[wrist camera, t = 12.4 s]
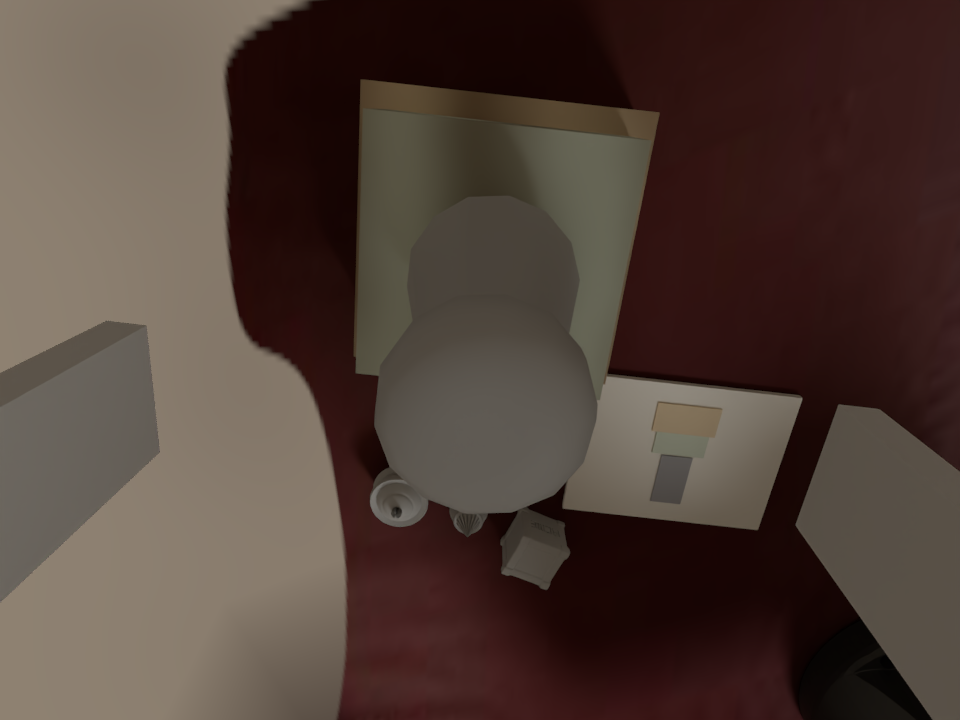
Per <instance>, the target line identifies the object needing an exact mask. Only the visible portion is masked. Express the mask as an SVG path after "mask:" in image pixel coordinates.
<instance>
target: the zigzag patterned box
mask: <svg viewBox="0 0 960 720" xmlns="http://www.w3.org/2000/svg"><path fill="white" fill-rule="evenodd" d="M658 118H659V112H650V111H641V110H632V109H623V108H614V107H605V106H596V105H587V104H578V103H569V102H560V101H551V100H542V99H533V98H525V97H516V96H507V95H498V94H489V93H480V92H471V91H462V90H453V89H444V88H435V87H426V86H417V85H408V84H399V83H390V82H381V81H373V80H364V79H361V86H360V125H359V164H358V204H357V243H356V282H355V321H354V357H356V373H359V374H368V375H377V376H379V371H380V365H381V364H382V362H383V361H384V359H385V358H386V357H387V355H388V354H389V352H390V351H391V350H392V348H393V347H394V346H395V344H396V343H397V342H398V340H399V339H400V337H401V336H402V335H403V333H404V332H405V331H406V329H407V328H408V327H409V325H410V324H411V322H412V321H413V319H412V314H411V308H410V302H409V296H408V290H407V281H408V272H409V263H410V254H411V248H412V247H413V245H414V244H415V243H416V241H417V240H418V238H419V237H420V236H421V234H422V233H423V231H424V230H425V228H426V227H427V226H428V224H429V223H430V221H431V220H432V219H433V217H434V216H436V215H438V214H440V213H441V212H443V211H445V210H446V209H448V208H450V207H452V206H453V205H455V204H457V203H459V202H460V201H462V200H464V199H465V198H467V197H481V196H511V197H514V198H516V199H518V200H521V201H523V202H525V203H528V204H530V205H532V206H535V207H537V208H539V209H542V210H544V211H546V212H547V213H548V214H549V216H550V217H551V218H552V219H553V220H554V222H555V223H556V224H557V225H558V227H559V228H560V229H561V230H562V231H563V233H564V234H565V235H566V236H567V238H568V239H569V240H570V241H571V243H572V247H573V252H574V256H575V260H576V265H577V269H578V273H579V278H580V282H579V287H578V292H577V297H576V302H575V307H574V312H573V317H572V322H571V327H570V332H569V334H570V335H571V336H572V338H573V339H574V340H575V341H576V342H577V343H578V345H579V346H580V347H581V348H582V351H583V353H584V355H585V357H586V359H587V363H588V367H589V371H590V375H591V379H592V383H593V387H594V391H595V395H596V399H597V400H600V397H601V392H602V387H603V384H605V382H606V377H607V372H608V367H609V362H610V357H611V352H612V347H613V342H614V337H615V333H616V328H617V323H618V318H619V313H620V308H621V303H622V298H623V293H624V288H625V283H626V278H627V273H628V268H629V263H630V258H631V253H632V248H633V243H634V238H635V233H636V228H637V223H638V218H639V213H640V208H641V203H642V198H643V193H644V188H645V183H646V178H647V173H648V168H649V163H650V158H651V153H652V148H653V143H654V138H655V133H656V128H657V123H658Z"/></svg>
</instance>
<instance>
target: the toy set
mask: <svg viewBox="0 0 960 720" xmlns="http://www.w3.org/2000/svg"><path fill="white" fill-rule="evenodd" d="M370 506H371V508H372V511H373V513H374V514H375V516H376V517H377V518H378V519H379V520H381V521H382V522H384V523H386V524H388V525H391V526H396V527H405V526H409V525H412V524H414V523H416V522H418V521H419V520H420V519H421V518H422V517H423V516H424V515H425V513H426V511H427V508H428V499H426V498H423V497H422V496H421V495H420V494H419V493H417V492H416V491H415V490H414V489H413V488H412V487H411V486H410V485H409V484H408V483H407V482H406V481H404V480H403V479H402V478H401V477H400V476H399V475H398V474H397V473H396V472H395V471H394V470H392V469H391V468H390V467H389V468H386V469H385V470H383V471H382V472H381V473H380V474H379V475H378V476H377V478H376V479H375V482H374V486H373V490H372V492H371V494H370ZM449 512H450V516H451V519H452V520H453V523H454V526H455V528H456V529H457V530H458V531H460V532H462V533H464V534H465V535H466V536H467V537H469V536H470V535H471V534H472V533H475V532H477V531H478V530H479V529H480V528H481V527H482V525H483V522H484V521H485V520H486V518H487V515H488V513H476V514H465V513H462V512H460V511H457V510H454V509H452V508H450V510H449ZM564 527H565V523H564V522H561V521H559V520H557V521H556V520H554V519H551V518H549V517H546V516H544V515H542V514H539V513H537V512H534V511H532V510H529V509H528V508H527V507H524V508H522V509H519V510H518V513H517V515H516V517H515V519H514V520H513V522H512V524H511V526H510V527H509V529H508V531H507V532H506V534H505V535H503V537H502V538H501V540H500V545H501V546H502V559H503V565H502V567H501V573H502V574H504V575H507V576H509V575H512V576H515V577H517V578H520V579H523V580H526V581H528V582H531V583H534V584H536V585H539V587H540V588H542V589H544V590H547V589H548V588H549V586H550V581H551V580H552V578H553V577H554V575H555V573H556V572H557V570H558V569H559V567H560V566H561V564H562V563H563V561H564V559H565V560H566V559H567V558H568V557H569V555H570V549H569V548H568V547H567V543H566V538H565V532H564Z"/></svg>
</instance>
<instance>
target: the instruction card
mask: <svg viewBox="0 0 960 720" xmlns="http://www.w3.org/2000/svg"><path fill="white" fill-rule="evenodd" d="M802 399H803V398H802V397H801V396H800V395H794V394H785V393H776V392H767V391H758V390H749V389H740V388H731V387H722V386H713V385H704V384H695V383H686V382H677V381H668V380H659V379H650V378H641V377H632V376H623V375H614V374H607V377H606V382H605V384H603V387H602V392H601V397H600V400H597V403H598V406H597V419H596V423H595V427H594V430H593V433H592V437H591V440H590V444H589V447H588V450H587V454H586V457H585V460H584V463H583V464H582V465H581V466H580V467H579V468H578V469H577V471H576V472H575V473H574V474H573V475H572V476H571V477H570V478H569V479H568V480H567V482H566V486H565V491H564V497H563V502H562V508H563V509H571V510H580V511H589V512H598V513H607V514H616V515H625V516H634V517H643V518H652V519H661V520H670V521H679V522H688V523H697V524H706V525H716V526H725V527H734V528H743V529H752V530H758V528H759V525H760V522H761V519H762V516H763V514H764V511H765V508H766V505H767V502H768V499H769V496H770V493H771V490H772V487H773V484H774V481H775V478H776V475H777V472H778V470H779V467H780V464H781V461H782V458H783V455H784V452H785V449H786V446H787V443H788V440H789V437H790V434H791V431H792V428H793V426H794V423H795V420H796V417H797V414H798V411H799V408H800V405H801V402H802Z"/></svg>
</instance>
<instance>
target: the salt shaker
mask: <svg viewBox="0 0 960 720" xmlns="http://www.w3.org/2000/svg"><path fill="white" fill-rule="evenodd" d="M579 282H580V278H579V273H578V269H577V265H576V260H575V256H574V252H573V247H572V243H571V241H570V240H569V239H568V238H567V236H566V235H565V234H564V233H563V231H562V230H561V229H560V228H559V227H558V225H557V224H556V223H555V222H554V220H553V219H552V218H551V217H550V216H549V214H548V213H547V212H546V211H544V210H542V209H539V208H537V207H535V206H532V205H530V204H528V203H525V202H523V201H521V200H518V199H516V198H514V197H511V196H481V197H467V198H465V199H464V200H462V201H460V202H459V203H457V204H455V205H453V206H452V207H450V208H448V209H446V210H445V211H443V212H441V213H440V214H438V215H436V216H434V217H433V219H432V220H431V221H430V223H429V224H428V226H427V227H426V228H425V230H424V231H423V233H422V234H421V236H420V237H419V238H418V240H417V241H416V243H415V244H414V245H413V247H412V248H411V254H410V263H409V272H408V281H407V290H408V296H409V302H410V308H411V314H412V319H413V321H412V322H411V324H410V325H409V327H408V328H407V329H406V331H405V332H404V333H403V335H402V336H401V337H400V339H399V340H398V342H397V343H396V344H395V346H394V347H393V348H392V350H391V351H390V352H389V354H388V355H387V357H386V358H385V359H384V361H383V362H382V364H381V365H380V371H379V380H378V389H377V399H376V408H375V421H374V427H375V429H376V432H377V435H378V437H379V440H380V443H381V445H382V448H383V451H384V453H385V456H386V459H387V461H388V464H389V467H390V468H391V469H392V470H394V471H395V472H396V473H397V474H398V475H399V476H400V477H401V478H402V479H403V480H404V481H406V482H407V483H408V484H409V485H410V486H411V487H412V488H413V489H414V490H415V491H416V492H417V493H419V494H420V495H421V496H422V497H423V498H426V499H428V500H431V501H434V502H436V503H439V504H441V505H444V506H447V507H449V508H452V509H454V510H457V511H460V512H462V513H465V514H476V513H512V512H514V511H517V510H519V509H522V508H524V507H527V506H529V505H531V504H534V503H536V502H539V501H541V500H544V499H546V498H548V497H551V496H553V495H555V494H556V493H557V491H558V490H559V489H560V488H561V487H562V486H563V485H564V484H565V483H566V482H567V480H568V479H569V478H570V477H571V476H572V475H573V474H574V473H575V472H576V471H577V469H578V468H579V467H580V466H581V465H582V464H583V463H584V460H585V457H586V454H587V450H588V447H589V444H590V440H591V437H592V433H593V430H594V427H595V423H596V419H597V406H598V403H597V399H596V395H595V391H594V387H593V383H592V379H591V375H590V371H589V367H588V363H587V359H586V357H585V355H584V353H583V351H582V348H581V347H580V346H579V345H578V343H577V342H576V341H575V340H574V339H573V338H572V336H571V335H570V334H569V332H570V327H571V322H572V317H573V312H574V307H575V302H576V297H577V292H578V287H579Z"/></svg>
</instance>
